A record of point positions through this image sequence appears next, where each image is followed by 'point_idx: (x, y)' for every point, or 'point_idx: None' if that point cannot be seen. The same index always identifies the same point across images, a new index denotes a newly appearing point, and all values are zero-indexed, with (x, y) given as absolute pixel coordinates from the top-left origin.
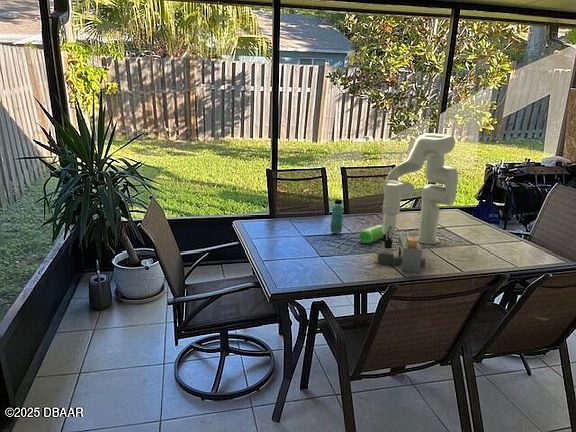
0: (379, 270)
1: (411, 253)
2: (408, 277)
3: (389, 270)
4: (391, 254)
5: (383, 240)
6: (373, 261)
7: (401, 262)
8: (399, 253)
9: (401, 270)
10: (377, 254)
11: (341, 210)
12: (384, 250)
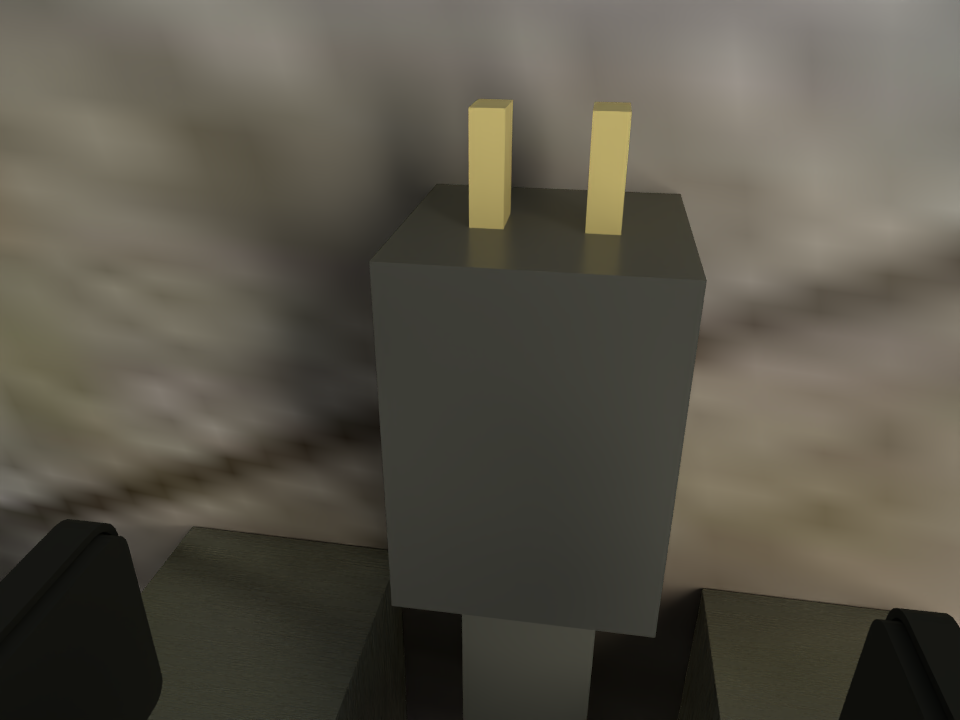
0: (62, 177)
1: None
2: (3, 563)
3: (140, 359)
4: (392, 560)
5: (886, 651)
6: (524, 94)
7: (186, 625)
8: (714, 706)
9: (189, 535)
10: (619, 230)
11: None
12: (650, 459)
